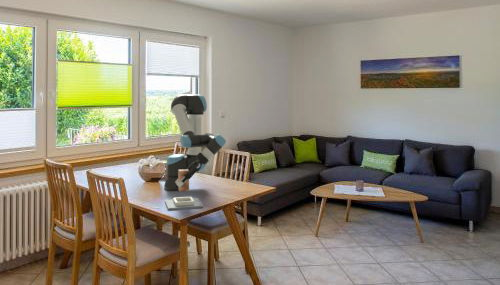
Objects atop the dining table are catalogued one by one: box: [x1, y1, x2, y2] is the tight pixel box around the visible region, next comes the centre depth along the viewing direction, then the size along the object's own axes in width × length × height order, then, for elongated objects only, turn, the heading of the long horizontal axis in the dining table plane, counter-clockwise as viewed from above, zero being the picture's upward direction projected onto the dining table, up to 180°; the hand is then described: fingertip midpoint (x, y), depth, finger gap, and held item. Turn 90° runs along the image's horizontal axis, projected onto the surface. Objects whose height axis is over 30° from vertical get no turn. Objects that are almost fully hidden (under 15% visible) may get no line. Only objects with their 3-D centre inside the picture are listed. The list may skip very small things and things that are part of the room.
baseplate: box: [164, 196, 204, 211], centre depth 239 cm, size 20×18×3 cm
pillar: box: [178, 169, 190, 193], centre depth 237 cm, size 6×6×12 cm
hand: (177, 184), depth 236 cm, fingers closed on pillar, 5 cm apart
